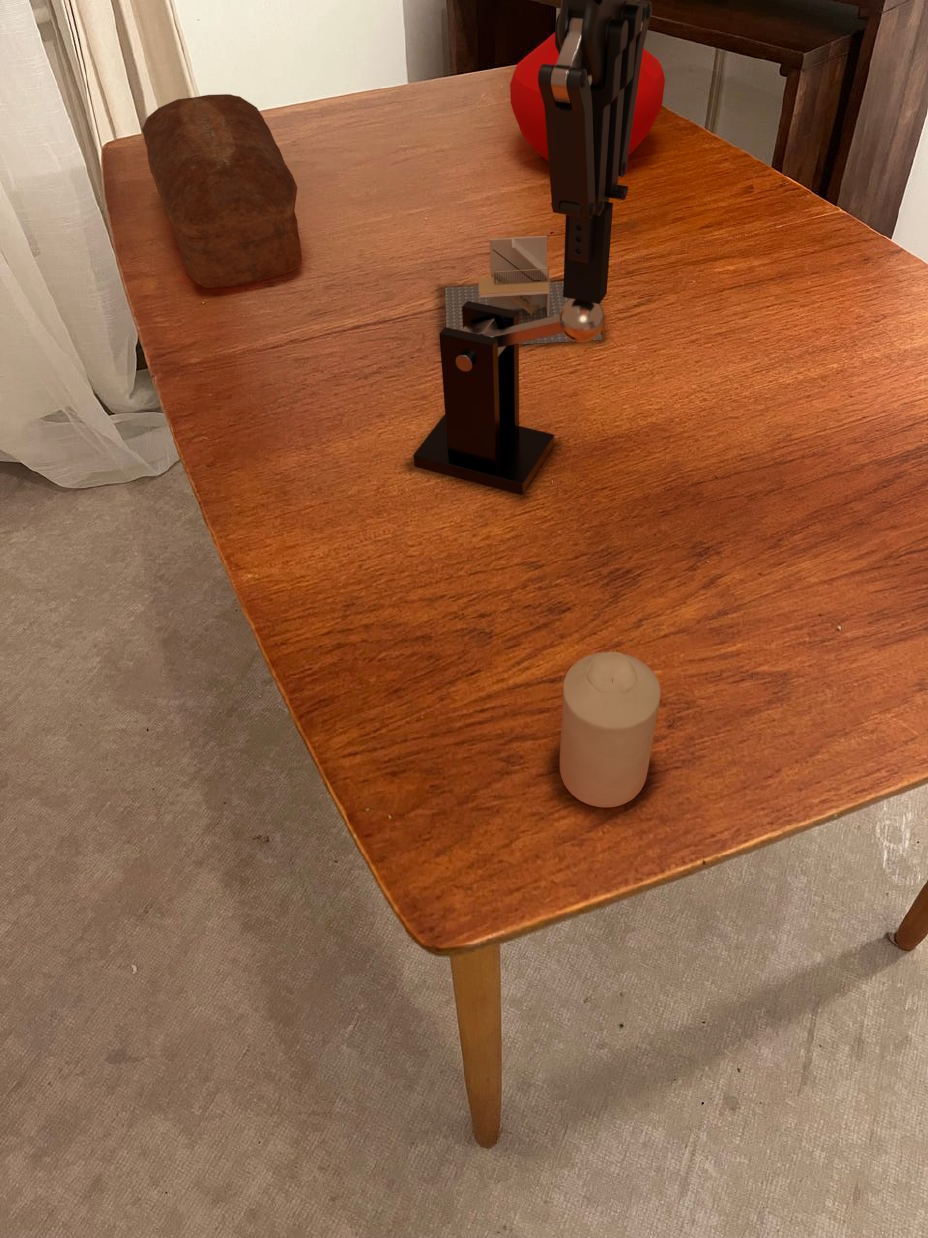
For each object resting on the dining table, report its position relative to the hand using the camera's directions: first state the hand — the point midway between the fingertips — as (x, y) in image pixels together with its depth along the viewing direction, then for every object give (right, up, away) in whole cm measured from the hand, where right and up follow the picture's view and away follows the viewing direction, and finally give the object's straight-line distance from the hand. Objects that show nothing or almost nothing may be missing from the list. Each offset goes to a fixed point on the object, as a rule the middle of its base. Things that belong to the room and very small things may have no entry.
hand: (584, 294), depth 69 cm
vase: (+7, +35, +54) cm, 65 cm away
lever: (-3, -2, +5) cm, 6 cm away
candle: (0, -32, -6) cm, 33 cm away
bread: (-35, +21, +44) cm, 60 cm away
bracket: (-7, -9, +15) cm, 19 cm away
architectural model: (-3, +8, +30) cm, 31 cm away
